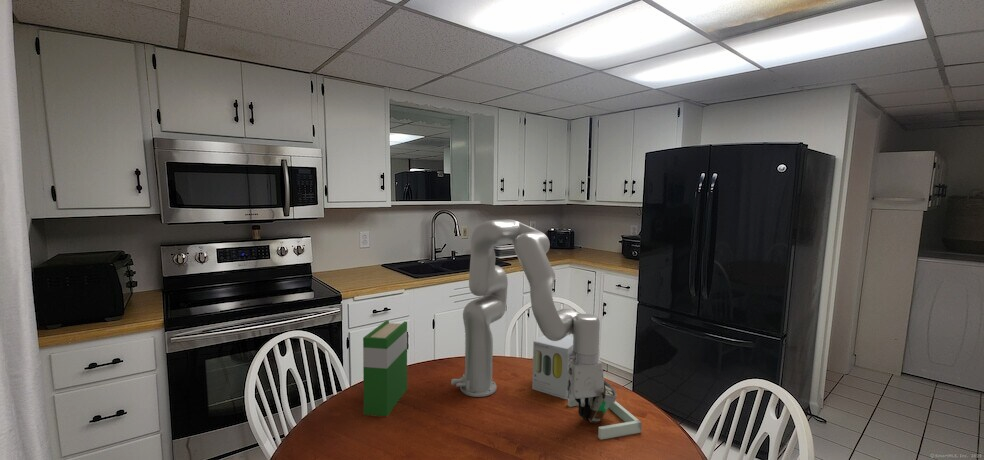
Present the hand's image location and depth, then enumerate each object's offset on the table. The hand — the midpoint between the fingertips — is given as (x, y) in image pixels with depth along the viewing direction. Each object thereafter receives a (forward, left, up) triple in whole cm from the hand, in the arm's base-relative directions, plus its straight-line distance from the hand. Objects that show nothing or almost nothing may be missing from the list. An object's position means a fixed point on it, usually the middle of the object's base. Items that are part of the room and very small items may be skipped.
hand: (584, 416), depth 118 cm
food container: (+4, +2, -1) cm, 5 cm away
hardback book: (-56, +28, -2) cm, 63 cm away
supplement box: (+2, +23, -2) cm, 23 cm away
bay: (+6, +1, -2) cm, 6 cm away
